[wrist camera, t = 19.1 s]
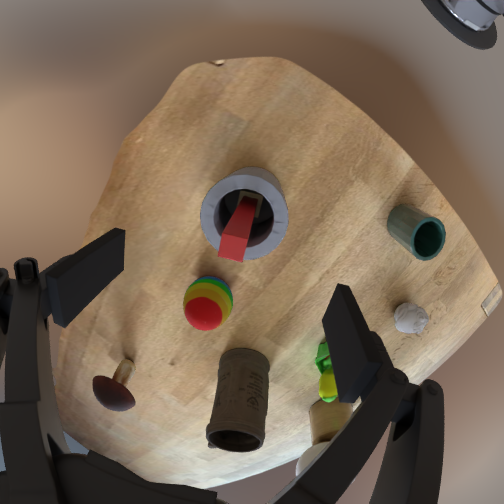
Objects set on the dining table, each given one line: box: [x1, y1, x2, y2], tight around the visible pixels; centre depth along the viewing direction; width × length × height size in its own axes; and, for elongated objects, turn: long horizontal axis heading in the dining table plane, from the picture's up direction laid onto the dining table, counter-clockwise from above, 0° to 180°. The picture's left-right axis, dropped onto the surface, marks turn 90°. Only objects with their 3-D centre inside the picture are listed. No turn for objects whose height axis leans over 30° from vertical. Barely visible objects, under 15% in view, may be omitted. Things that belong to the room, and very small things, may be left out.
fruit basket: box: [315, 342, 338, 402], centre depth 47 cm, size 11×9×11 cm
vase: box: [200, 167, 288, 260], centre depth 35 cm, size 9×9×14 cm
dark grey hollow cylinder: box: [206, 348, 269, 452], centre depth 47 cm, size 15×11×20 cm
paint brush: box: [218, 189, 264, 262], centre depth 31 cm, size 3×3×22 cm
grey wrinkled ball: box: [394, 303, 429, 334], centre depth 44 cm, size 6×7×7 cm
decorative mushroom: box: [93, 359, 136, 411], centre depth 51 cm, size 11×11×15 cm
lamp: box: [296, 397, 356, 482], centre depth 48 cm, size 15×14×25 cm
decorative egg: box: [183, 276, 233, 330], centre depth 44 cm, size 8×8×10 cm
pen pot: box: [387, 204, 446, 261], centre depth 37 cm, size 7×7×9 cm
